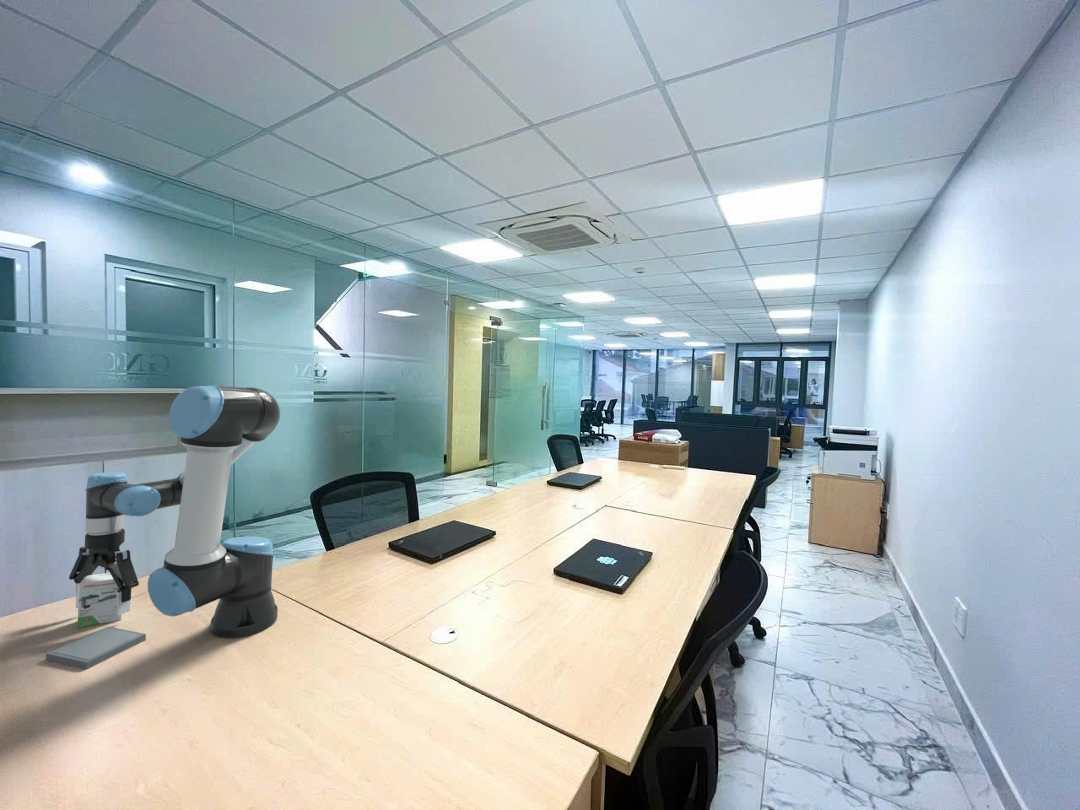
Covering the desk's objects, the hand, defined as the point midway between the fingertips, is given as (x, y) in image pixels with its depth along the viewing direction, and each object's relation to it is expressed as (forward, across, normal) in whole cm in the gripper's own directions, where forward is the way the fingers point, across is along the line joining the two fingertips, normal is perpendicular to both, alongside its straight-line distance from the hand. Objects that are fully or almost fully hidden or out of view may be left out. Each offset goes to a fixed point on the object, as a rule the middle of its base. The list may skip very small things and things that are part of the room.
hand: (102, 609), depth 115 cm
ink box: (+3, 0, 0) cm, 3 cm away
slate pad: (+3, -14, +10) cm, 17 cm away
